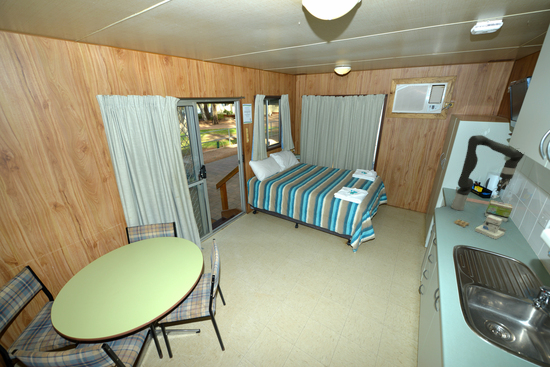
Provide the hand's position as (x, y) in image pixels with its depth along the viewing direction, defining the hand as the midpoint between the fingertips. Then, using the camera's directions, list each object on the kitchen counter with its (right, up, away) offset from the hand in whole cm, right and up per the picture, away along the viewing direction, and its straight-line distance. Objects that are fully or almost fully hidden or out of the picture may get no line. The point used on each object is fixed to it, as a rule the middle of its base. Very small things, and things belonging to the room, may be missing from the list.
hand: (500, 190), depth 185 cm
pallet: (-24, -31, +12) cm, 41 cm away
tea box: (+18, -27, +22) cm, 39 cm away
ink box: (-11, -34, -2) cm, 36 cm away
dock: (-11, -36, -1) cm, 38 cm away
